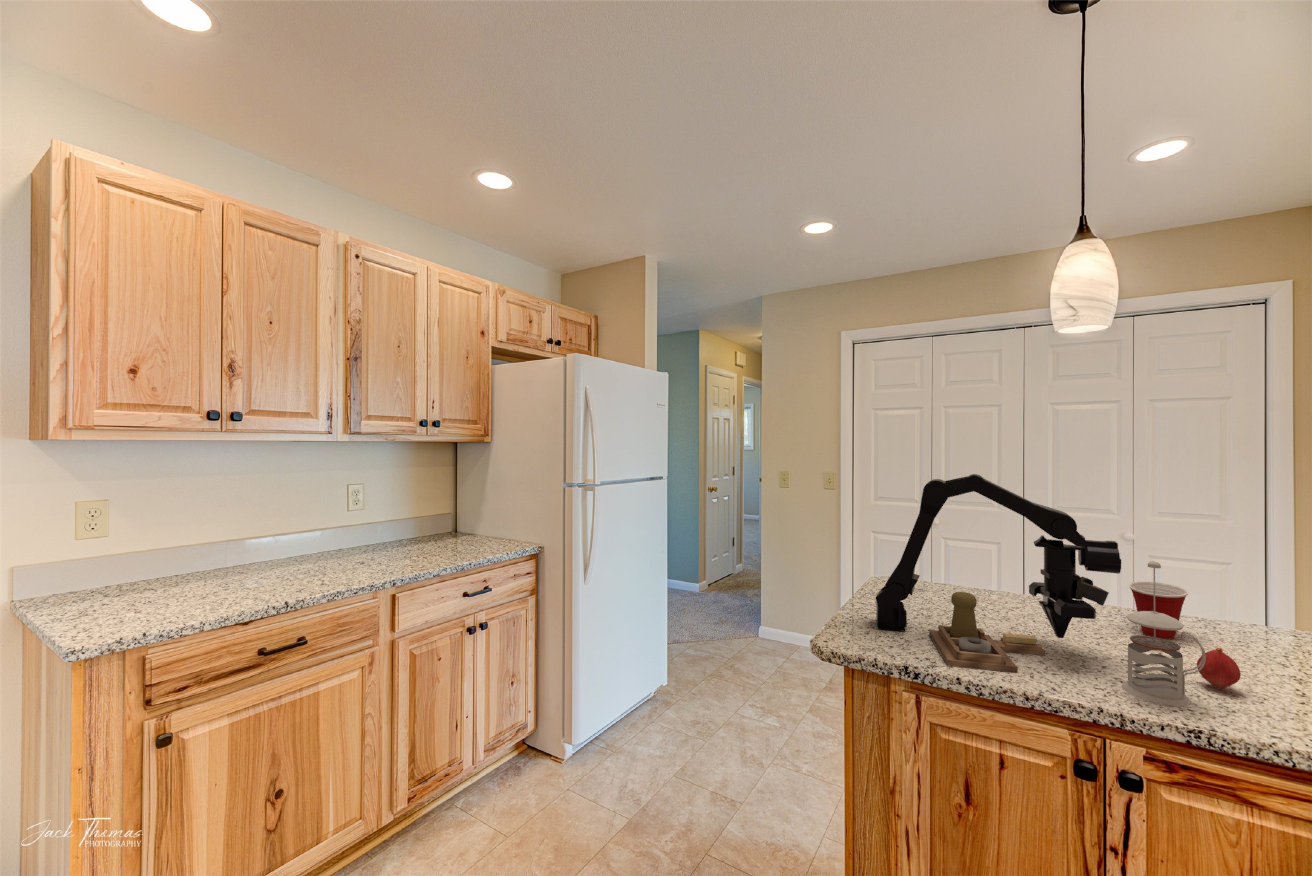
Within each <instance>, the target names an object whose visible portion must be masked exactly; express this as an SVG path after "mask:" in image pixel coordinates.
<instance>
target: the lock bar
mask: <svg viewBox="0 0 1312 876" xmlns="http://www.w3.org/2000/svg"><path fill="white" fill-rule="evenodd" d="M1002 638H1003V642H1004V644H1005V645H1006V643H1011V644H1022V645H1033V646H1037V644H1038V643H1037V638H1036V637H1035V636H1034V635H1031V634H1030V635H1029V634H1017V633H1006V632H1005V633H1004V632H1003V633H1002Z"/></svg>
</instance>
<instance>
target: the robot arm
mask: <svg viewBox="0 0 1312 876" xmlns="http://www.w3.org/2000/svg"><path fill="white" fill-rule="evenodd" d="M973 492H975V493H977V494H979V495H981V496H983V497H984V498H987V499H988V500H991V501H993V502H995V503H997V504H999V505H1001V506H1003V507H1005V508H1007V509H1009V510H1011V511H1012V512H1015V513H1017V514H1018V515H1020V516H1022V517H1024V518H1026V519H1027V520H1029V522H1032V523H1033V524H1034V525H1035V526H1036V527H1038V528H1039V529H1041V530H1042V531H1043V532H1045V533H1046V534H1047V535H1048V536H1051V537H1052V538H1053V539H1048V538H1046V537H1045V536H1044V535H1043V534H1042V535H1040V537H1039V538H1037V539H1036V540H1034V541H1033V545H1034V546H1035V547H1036V548H1043V568H1040V574H1041V575H1043V582H1041V581H1037V582H1036V581H1033V582H1031V583H1029V585H1028V594H1030V595H1031V596H1032V597H1037V595H1038V594H1039V595H1041V596H1042V601H1041V600H1039V601H1038V604H1039V605H1040V607H1041V608H1042V611H1043V613H1044V614H1045V616H1046V618H1047V620H1048V622H1049V623H1050V626H1051V628H1052V630H1053V633H1054V635H1055V637H1056V638H1058V639H1064V638H1065V635H1066V633H1067V630H1068V628H1069V626H1070V623H1071V621H1072V618H1075V619H1089V620H1096V618H1097V617H1096V616H1097V615H1096V614H1097V613H1096V612H1097V611H1096V608H1095V607H1094V606H1093V605H1091V604H1090V603H1088V602H1086V601H1085V600H1083V599H1086V600H1089V601H1092V602H1095V603H1096V604H1097V605H1100V606H1102V607H1103V606H1104V604H1105V602H1106V601H1107V598H1108V596H1109V594H1110V593H1109V591H1107V590H1105V589H1103V588H1100V587H1098V586H1096V585H1094V583H1093V582H1094V581H1093V579H1091V578H1088V577H1085V576H1080V575H1079V574H1077V573H1076V570H1077V569H1076V565H1077V564H1076V556H1077V558H1078V559H1077V560H1078V564H1079V566H1084V569H1085V571H1086V572H1087V571H1088V572H1096V573H1097V572H1098V573H1107V574H1108V573H1109V574H1117V575H1118V574H1121V571H1122V559H1121V556H1120V555H1121V554H1120V551H1119V543H1118V542H1117V541H1116V540H1093V539H1092V540H1091V539H1086V537H1085V536H1084V535H1083V534H1080V532H1078V525H1077V522H1076V520H1075V519H1074V518H1073V517H1072V516H1070V515H1069V514H1068V513H1067V512H1065V511H1063V510H1059V509H1056V508H1052V507H1049V506H1045V505H1042V504H1039V503H1036V502H1033V501H1031V500H1029V499H1027V498H1024V497H1022V496H1021V495H1018V494H1016V493H1015V492H1013V491H1010V490H1009V489H1007V488H1005V487H1002V486H1000V485H998V484H996V483H994V482H992V481H990V480H988V479H986V478H984V477H983V476H982V475H980V474H977V473H973V474H970V475H968V476H964V477H958V478H952V479H948V480H943V479H940V478H935V479H934V478H933V479H931V480H929V481H928V482H927V483H926V484H925V485H924V486H923V489H922V494H921V501H920V506H919V513H918V514H917V515H918V516H917V518H916V520H915V523H914V526H913V528H912V530H911V534H910V536H909V538H908V541H907V543H906V545H905V549H904V550H903V553H902V556H901V558H900V561H899V562H898V563H897V565H896V567H895V568H894V569H893V571H892V573H891V574H890V575H889V578H888V579H887V581H886V582H885V584H884V586H883V587H882V588H881V589H879V591H878V593H877V594H876V596H875V601H876V606H875V607H876V611H875V612H876V619H874V620H875V623H876V627H877V629H878V630H886V631H898V632H906V628H907V625H908V623H907V621H908V619H907V617H908V616H907V615H908V614H907V610H906V608H905V604H904V602H903V601H905V600H906V599H908V598H909V595H910V596H912V595H913V594H914V591H915V589H916V588H915V587H916V584H917V583H918V582H919V581H918V580H919V578H920V574H917V573H915V571H916V566H917V563H918V561H919V558H920V556H921V554H922V551H923V548H924V545H925V544H926V540H927V538H928V536H929V534H930V531H931V528H932V526H933V523H934V521H935V518H936V517H937V515H938V514H939V513H940V511H941V510H942V507H943V506H944V505H945V504H946V502H947V500H948V499H949V498H952V497H957V496H961V495H964V494H968V493H973ZM1064 540H1066V541H1068V542H1069V543H1071V544H1065V543H1064ZM1072 544H1073V545H1072ZM1076 551H1077V552H1078V553H1076ZM1076 554H1077V555H1076Z"/></svg>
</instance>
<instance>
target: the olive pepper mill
mask: <svg viewBox="0 0 1312 876" xmlns="http://www.w3.org/2000/svg"><path fill="white" fill-rule="evenodd" d="M950 601H951V604H952V605H953V611H952V618H951V623H950V626H951V630H950V637H952V638H962V637H975V638H978V632H977V628H978V627H977V620H976V615H975V608H976V607H977V601H978V600H977V598H976V596H975V595H974V594H972V593H971V592H966V591H954V592H953V593H952V595H951V598H950Z"/></svg>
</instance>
